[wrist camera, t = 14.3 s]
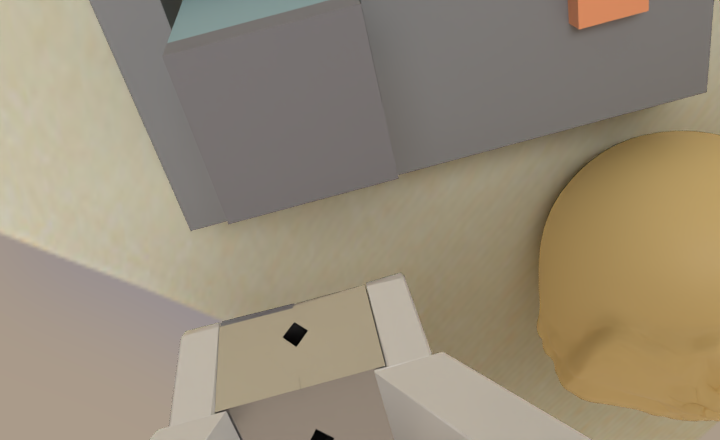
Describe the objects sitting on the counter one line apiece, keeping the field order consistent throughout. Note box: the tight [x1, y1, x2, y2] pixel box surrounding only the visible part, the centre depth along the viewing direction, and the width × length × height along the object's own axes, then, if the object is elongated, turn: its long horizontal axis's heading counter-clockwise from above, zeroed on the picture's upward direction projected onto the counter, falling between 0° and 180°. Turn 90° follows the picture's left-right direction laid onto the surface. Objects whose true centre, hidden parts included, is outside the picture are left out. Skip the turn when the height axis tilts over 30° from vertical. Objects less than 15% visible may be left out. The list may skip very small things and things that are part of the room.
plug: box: [162, 0, 398, 224], centre depth 20 cm, size 4×4×11 cm
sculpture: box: [537, 131, 720, 421], centre depth 27 cm, size 11×12×11 cm
